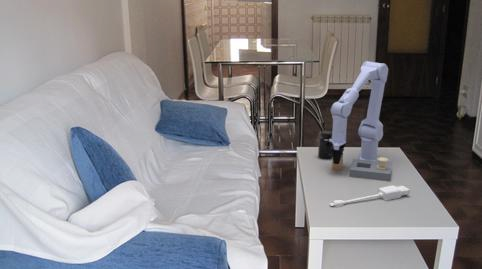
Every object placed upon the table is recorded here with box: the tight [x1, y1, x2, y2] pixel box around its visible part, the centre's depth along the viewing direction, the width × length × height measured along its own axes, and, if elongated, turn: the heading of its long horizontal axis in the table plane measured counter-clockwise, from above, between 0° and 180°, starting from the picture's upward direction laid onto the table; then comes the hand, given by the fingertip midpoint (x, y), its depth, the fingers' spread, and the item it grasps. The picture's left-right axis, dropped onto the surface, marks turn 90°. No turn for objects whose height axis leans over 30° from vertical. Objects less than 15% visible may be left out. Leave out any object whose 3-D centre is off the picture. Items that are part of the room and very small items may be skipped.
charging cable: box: [329, 185, 411, 208], centre depth 180 cm, size 5×32×3 cm, turn 110°
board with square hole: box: [349, 156, 392, 182], centre depth 206 cm, size 14×16×7 cm
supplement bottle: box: [317, 130, 334, 160], centre depth 224 cm, size 7×7×12 cm
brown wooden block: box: [331, 152, 344, 172], centre depth 210 cm, size 4×4×7 cm
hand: (337, 160), depth 210 cm, fingers open, 7 cm apart
